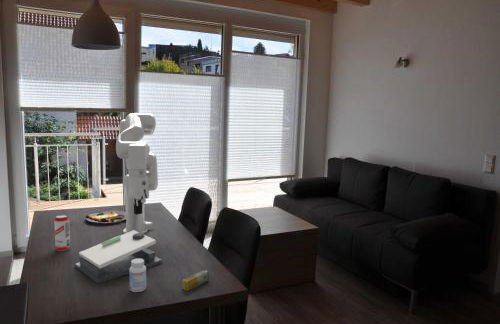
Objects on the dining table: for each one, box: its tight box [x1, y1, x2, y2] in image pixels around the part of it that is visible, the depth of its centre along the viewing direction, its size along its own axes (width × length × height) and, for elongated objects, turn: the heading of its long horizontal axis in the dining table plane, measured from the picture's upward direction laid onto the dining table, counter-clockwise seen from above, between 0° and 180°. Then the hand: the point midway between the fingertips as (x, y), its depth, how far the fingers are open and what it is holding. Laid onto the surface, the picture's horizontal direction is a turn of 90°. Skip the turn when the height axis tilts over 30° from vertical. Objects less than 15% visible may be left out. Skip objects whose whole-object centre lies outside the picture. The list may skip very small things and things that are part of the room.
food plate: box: [85, 210, 126, 224], centre depth 238 cm, size 25×23×4 cm
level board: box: [78, 230, 157, 268], centre depth 173 cm, size 26×18×3 cm
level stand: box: [74, 247, 163, 284], centre depth 174 cm, size 29×21×5 cm
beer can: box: [53, 214, 71, 252], centre depth 189 cm, size 6×6×16 cm
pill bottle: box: [128, 258, 147, 293], centre depth 152 cm, size 6×6×11 cm
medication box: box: [181, 269, 209, 291], centre depth 158 cm, size 12×3×4 cm, turn 142°
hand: (138, 213), depth 178 cm, fingers closed
